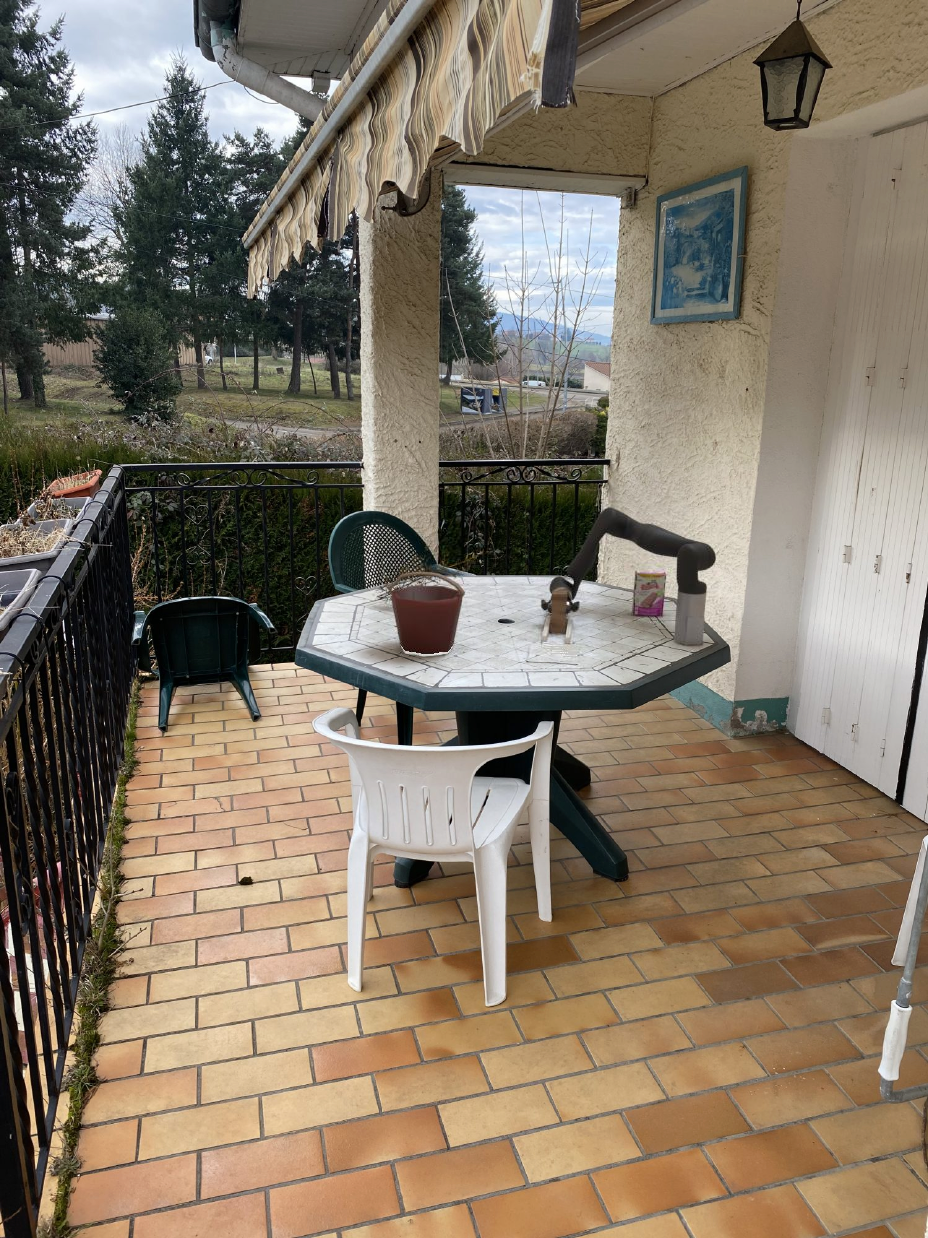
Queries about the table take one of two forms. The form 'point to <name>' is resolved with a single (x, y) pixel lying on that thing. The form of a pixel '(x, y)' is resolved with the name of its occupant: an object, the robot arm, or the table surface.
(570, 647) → the mat
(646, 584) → the candy bar box
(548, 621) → the chute
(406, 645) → the bucket
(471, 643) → the table surface
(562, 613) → the walnut block
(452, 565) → the dried plant
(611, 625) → the table surface
